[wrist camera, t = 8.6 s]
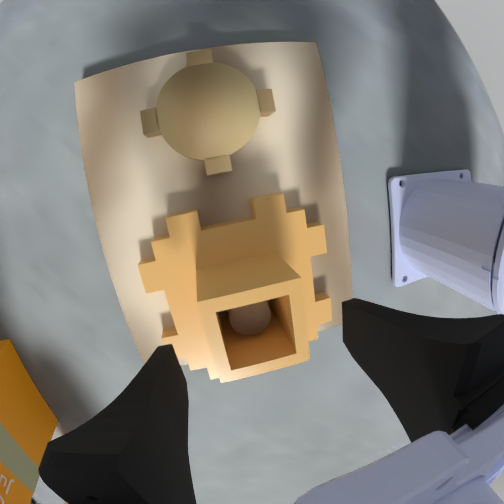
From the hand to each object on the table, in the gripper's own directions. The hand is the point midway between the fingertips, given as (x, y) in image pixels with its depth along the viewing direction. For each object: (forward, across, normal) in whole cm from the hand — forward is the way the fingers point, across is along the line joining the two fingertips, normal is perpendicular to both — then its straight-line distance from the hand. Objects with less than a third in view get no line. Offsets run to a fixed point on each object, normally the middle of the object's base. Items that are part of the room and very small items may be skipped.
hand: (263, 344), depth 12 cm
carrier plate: (+7, 0, -5) cm, 8 cm away
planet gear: (+6, 0, 0) cm, 6 cm away
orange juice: (+7, +22, +5) cm, 24 cm away
